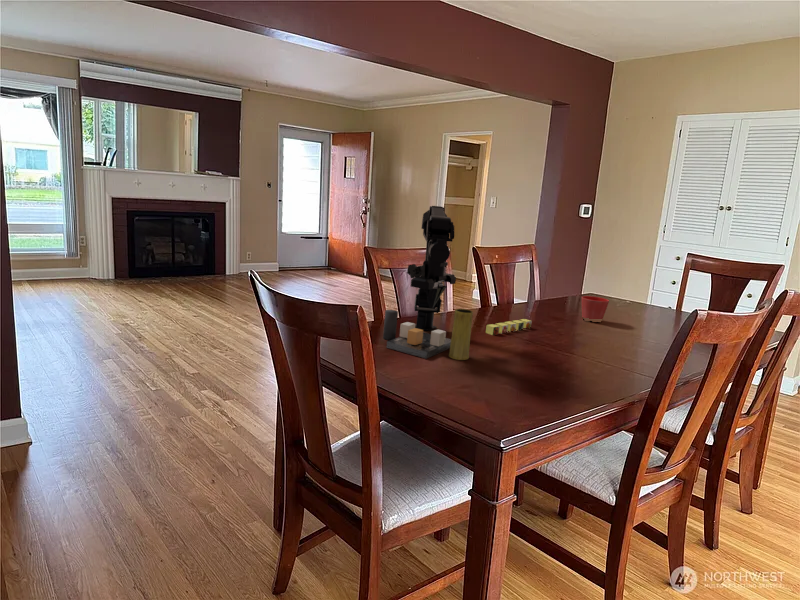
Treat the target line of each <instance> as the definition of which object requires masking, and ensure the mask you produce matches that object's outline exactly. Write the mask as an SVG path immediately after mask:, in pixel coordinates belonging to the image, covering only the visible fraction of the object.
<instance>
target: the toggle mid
mask: <svg viewBox="0 0 800 600" xmlns="http://www.w3.org/2000/svg"><path fill="white" fill-rule="evenodd" d="M423 332H424V330H422V329H418V328H413V329H410V330H408V337H407V343H409V344H412V345H417V344H420V343H422V339H423Z"/></svg>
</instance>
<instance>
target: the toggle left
mask: <svg viewBox="0 0 800 600" xmlns="http://www.w3.org/2000/svg"><path fill="white" fill-rule="evenodd" d="M415 325H416V323H414V322H409V321H406V322H403V323H400V328H399V337H404V338H407V337H408V330H410V329H413V328H415Z"/></svg>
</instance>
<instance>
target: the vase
mask: <svg viewBox="0 0 800 600" xmlns="http://www.w3.org/2000/svg"><path fill="white" fill-rule="evenodd" d="M473 315H474V312H473V310H471V309H466V308H456V309H455V310H454V315H453V316H454V317H453V324H452V325H453V326H452V332H451V338H450V339H451V344H450V348H449V349H448V350H449V352H448V357H449V358H450V359H453V360H455V361H467V360H469V358H470V345H471V344H470V343H471V333H472V323H473Z"/></svg>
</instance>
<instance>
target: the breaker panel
mask: <svg viewBox="0 0 800 600" xmlns="http://www.w3.org/2000/svg"><path fill="white" fill-rule="evenodd" d="M430 339H431V333H429V332H424V331H423V339H422V343H420V344H417V345H412V344H409V343H407V338H404V337H400V336H398V337H396V338H395V339H392V340H387V341H386V349H390V350H394V351H397V352H401V353H403V354H404V353H405V354H408V355H411V356H414V357H415V356H416V357H418V358H422V359H425V360H426V359H430V358H431V357H433V356H436V355H438V354H440V353H442V352H445V351H447V350H450V344H451V338H447V337H446V338H445V344H443V345H441V346H439V347H438V346H435V345H431V344H430Z"/></svg>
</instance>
